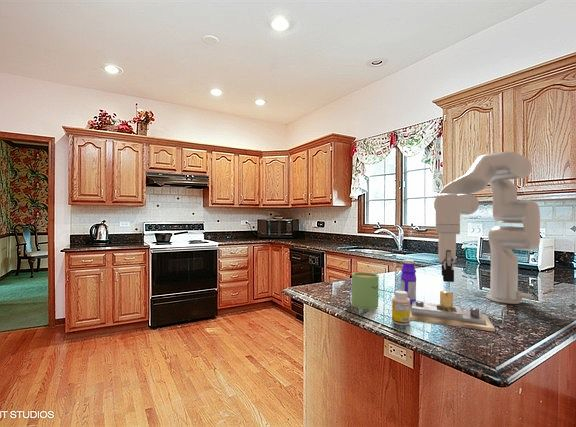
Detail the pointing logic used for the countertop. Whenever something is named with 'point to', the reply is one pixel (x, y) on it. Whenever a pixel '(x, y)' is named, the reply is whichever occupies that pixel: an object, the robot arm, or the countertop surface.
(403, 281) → the bottle
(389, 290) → the countertop surface
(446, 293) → the pin
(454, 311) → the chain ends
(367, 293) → the mug
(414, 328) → the countertop surface
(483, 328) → the board
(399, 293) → the supplement bottle
